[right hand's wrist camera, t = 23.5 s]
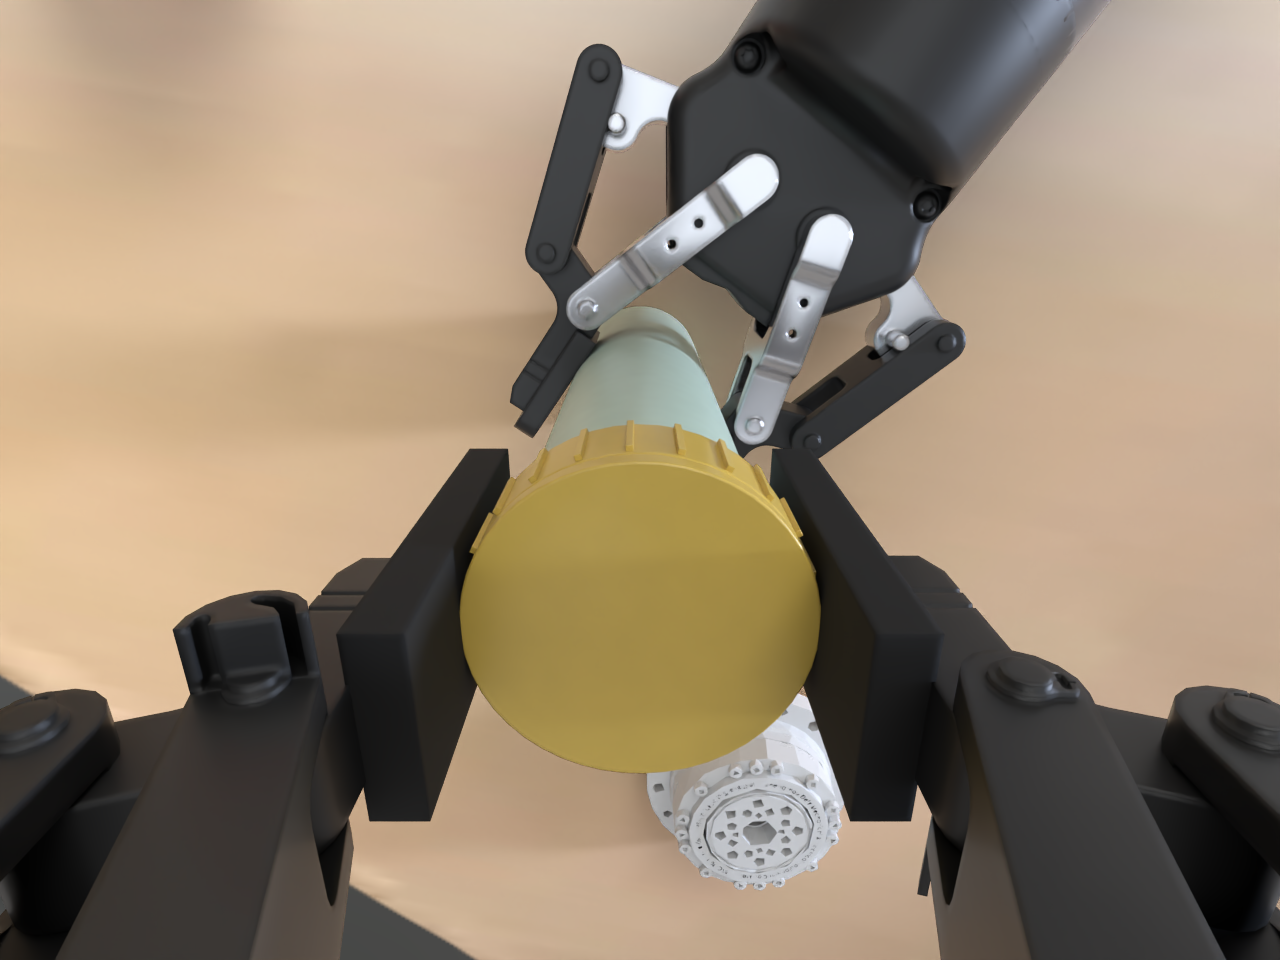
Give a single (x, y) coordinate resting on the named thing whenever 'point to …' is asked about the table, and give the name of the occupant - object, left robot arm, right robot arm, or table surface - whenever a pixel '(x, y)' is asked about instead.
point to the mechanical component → (756, 805)
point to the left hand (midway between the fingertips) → (595, 467)
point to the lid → (640, 601)
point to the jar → (641, 381)
